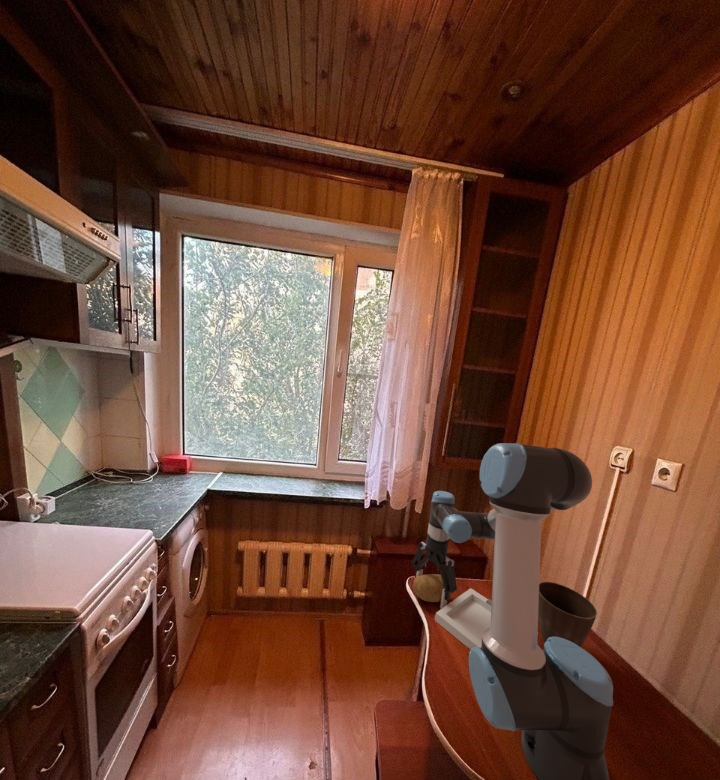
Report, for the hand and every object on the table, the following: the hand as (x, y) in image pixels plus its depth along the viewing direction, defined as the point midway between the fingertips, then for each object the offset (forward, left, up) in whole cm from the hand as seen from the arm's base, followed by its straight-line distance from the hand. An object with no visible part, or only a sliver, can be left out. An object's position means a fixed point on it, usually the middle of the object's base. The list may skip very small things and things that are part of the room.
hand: (429, 596), depth 107 cm
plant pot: (+17, -35, -1) cm, 39 cm away
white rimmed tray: (+4, -16, 0) cm, 17 cm away
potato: (0, 0, -1) cm, 1 cm away
